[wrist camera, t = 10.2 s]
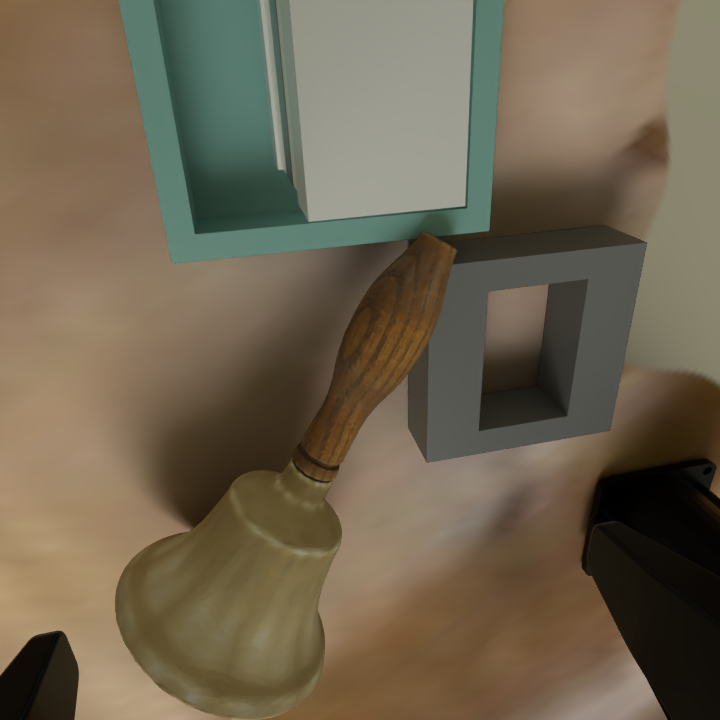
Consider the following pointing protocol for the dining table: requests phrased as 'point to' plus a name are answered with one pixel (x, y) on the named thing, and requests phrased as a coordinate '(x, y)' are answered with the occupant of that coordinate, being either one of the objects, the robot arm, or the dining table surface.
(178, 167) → the parts tray
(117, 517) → the dining table surface
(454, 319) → the socket block
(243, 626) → the hand bell
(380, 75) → the block
